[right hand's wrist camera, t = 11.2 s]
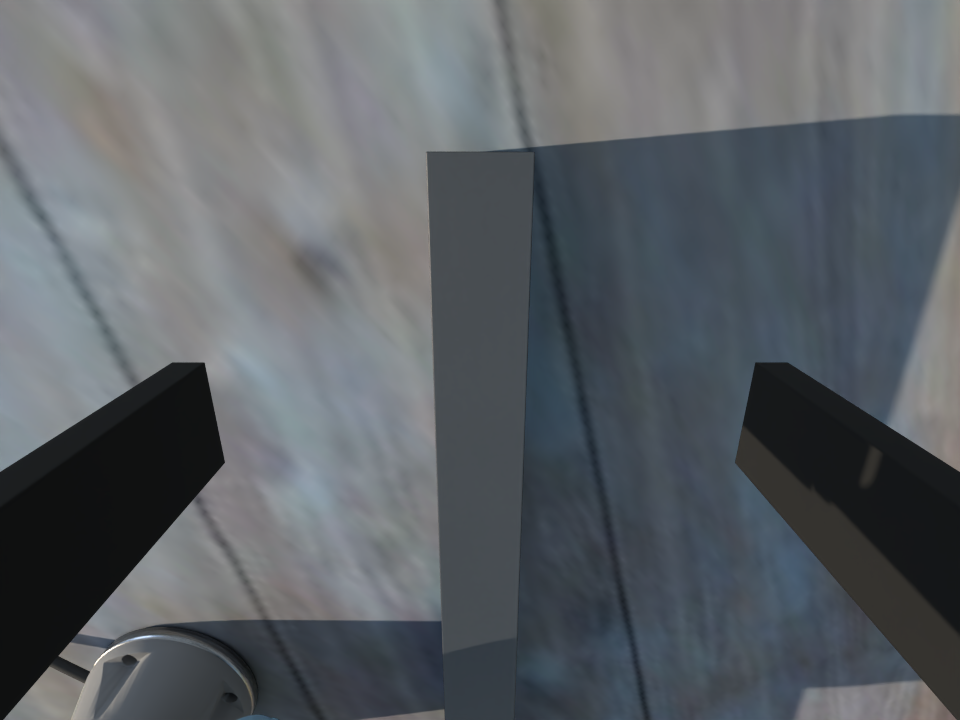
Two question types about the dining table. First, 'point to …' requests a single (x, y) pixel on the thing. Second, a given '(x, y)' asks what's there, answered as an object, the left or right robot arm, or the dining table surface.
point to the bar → (480, 414)
